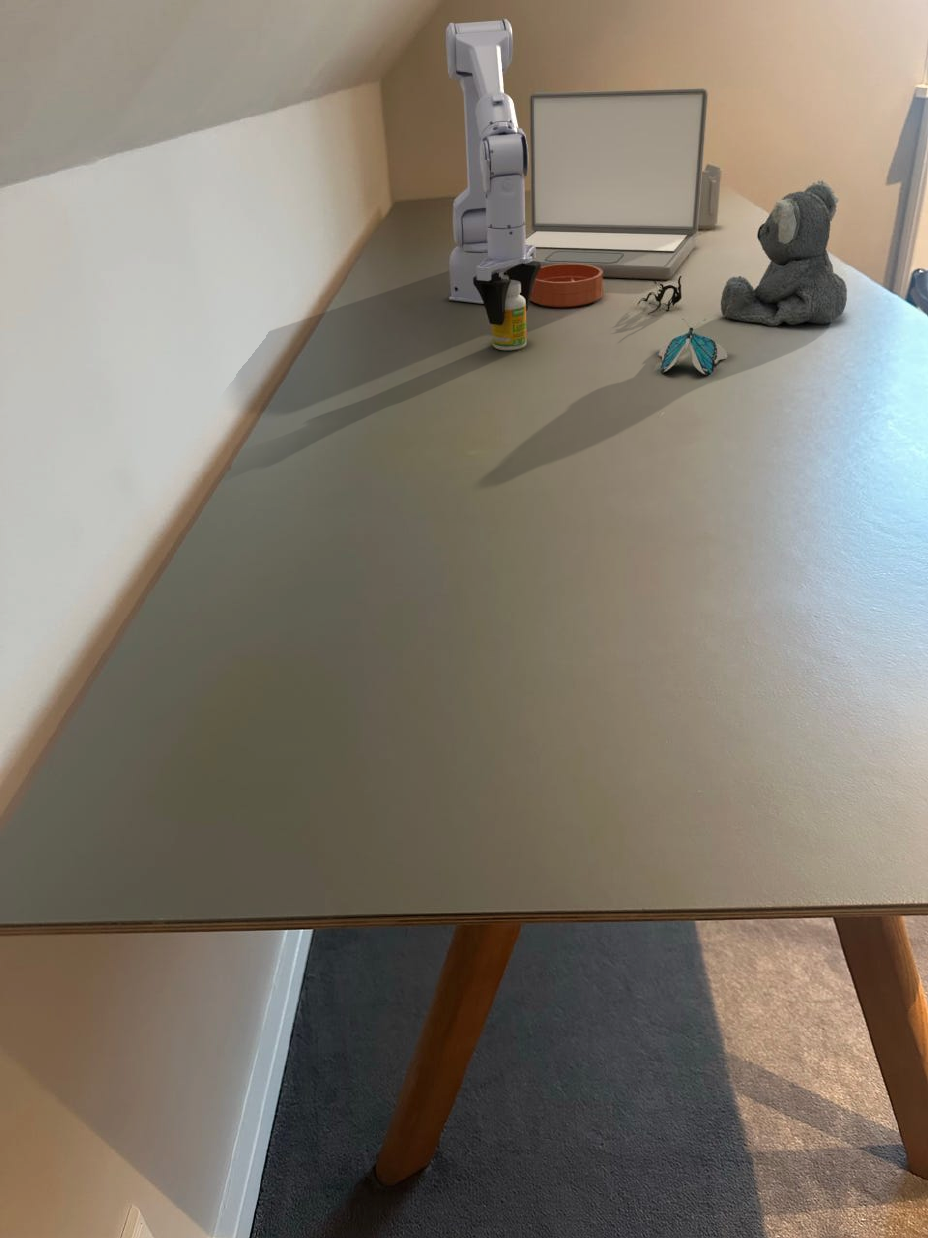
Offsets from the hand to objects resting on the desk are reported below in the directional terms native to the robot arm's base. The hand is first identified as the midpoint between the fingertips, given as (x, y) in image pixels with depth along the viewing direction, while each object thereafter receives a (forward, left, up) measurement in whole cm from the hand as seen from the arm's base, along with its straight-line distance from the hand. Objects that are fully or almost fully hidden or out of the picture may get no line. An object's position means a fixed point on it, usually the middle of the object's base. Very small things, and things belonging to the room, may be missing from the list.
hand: (508, 316), depth 147 cm
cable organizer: (-3, +90, -5) cm, 90 cm away
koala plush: (+35, +31, -5) cm, 47 cm away
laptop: (-11, +54, -5) cm, 55 cm away
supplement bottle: (0, 0, -5) cm, 5 cm away
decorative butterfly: (+29, +2, -5) cm, 29 cm away
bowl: (-4, +27, -5) cm, 28 cm away
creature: (+14, +27, -5) cm, 31 cm away
